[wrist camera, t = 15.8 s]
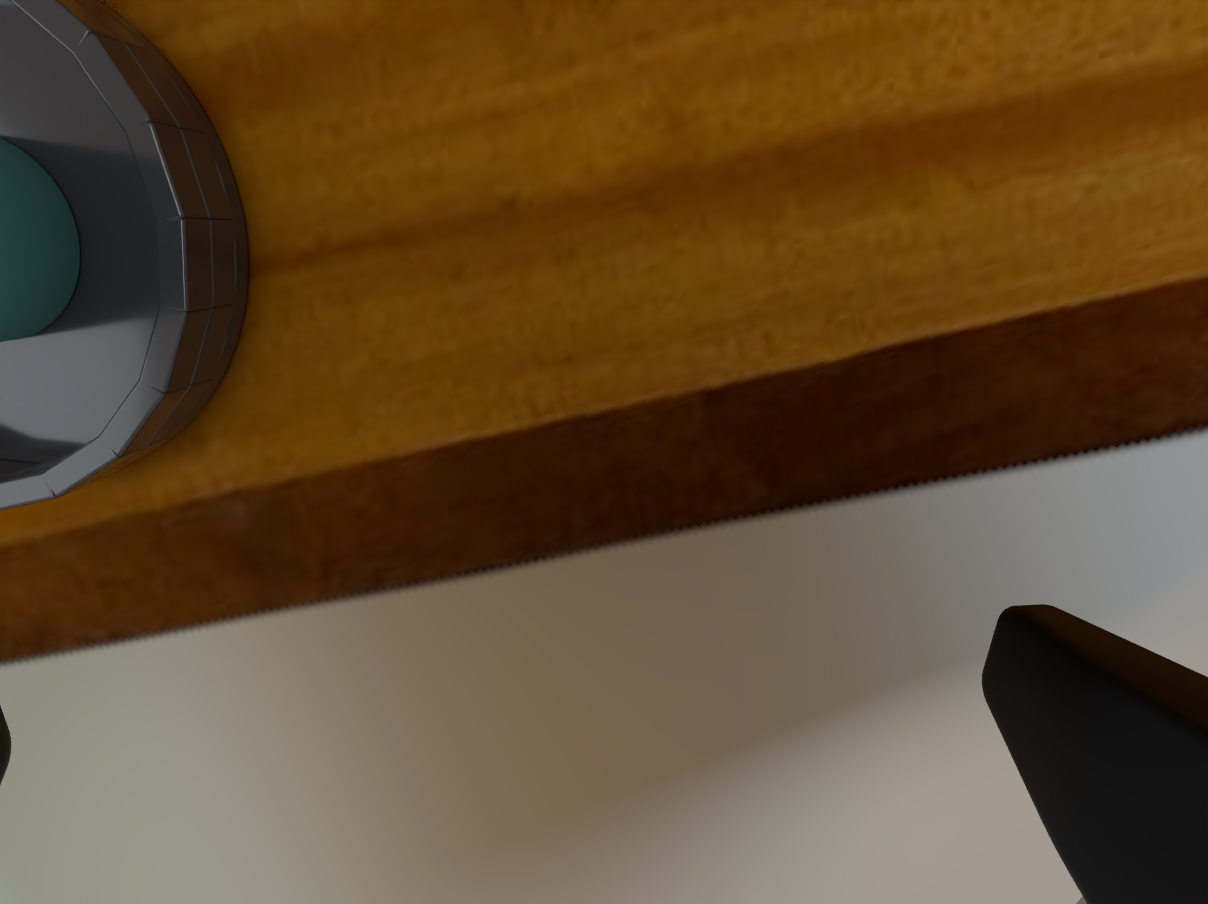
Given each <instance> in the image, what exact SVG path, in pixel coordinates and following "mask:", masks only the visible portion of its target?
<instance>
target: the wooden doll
mask: <svg viewBox="0 0 1208 904" xmlns="http://www.w3.org/2000/svg"><path fill="white" fill-rule="evenodd" d="M79 270H80V243H79V237H78V232H77V227H76V224H75V221H74V217H73V215H72V212H71V210H70V208H69V205H68V203H67V201H66V199H65V197H64V196H63V194H62V192H61V190H60V189H59V187H58V186H57V185H56V183H55V182H54V180H53V179H52V178H51V176H50V175H49V174H48V173H47V172H46V171H45V170H44V169H43V168H42V166H40V165H39V164H38V163H37V162H36V161H35V160H34V159H33V158H31V157H30V156H29V155H28V154H26V153H25V152H23V151H22V150H21V149H19V148H18V147H16V146H14V145H12V144H10V143H9V142H7V141H5V140H2V139H0V342H4V341H10V340H16V339H22V338H25V337H28V336H31V335H33V334H35V333H37V332H39V331H41V330H43V329H44V328H45V327H47V326H48V325H50V324H51V323H52V322H53V321H54V320H55V319H56V318H57V317H58V316H59V315H60V314H61V313H62V311H63V310H64V309H65V307H66V306H67V304H68V302H69V301H70V299H71V297H72V295H73V292H74V289H75V287H76V284H77V280H78V275H79Z"/></svg>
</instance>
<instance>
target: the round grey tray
mask: <svg viewBox="0 0 1208 904" xmlns="http://www.w3.org/2000/svg"><path fill="white" fill-rule="evenodd" d="M0 139H2V140H5V141H7V142H9V143H10V144H12V145H14V146H16V147H18V148H19V149H21V150H22V151H23V152H25V153H26V154H28V155H29V156H30V157H31V158H33V159H34V160H35V161H36V162H37V163H38V164H39V165H40V166H42V168H43V169H44V170H45V171H46V172H47V173H48V174H49V175H50V176H51V178H52V179H53V180H54V182H55V183H56V185H57V186H58V187H59V189H60V190H61V192H62V194H63V196H64V197H65V199H66V201H67V203H68V205H69V208H70V210H71V212H72V215H73V217H74V221H75V224H76V227H77V232H78V237H79V243H80V270H79V275H78V280H77V284H76V287H75V289H74V292H73V295H72V297H71V299H70V301H69V302H68V304H67V306H66V307H65V309H64V310H63V311H62V313H61V314H60V315H59V316H58V317H57V318H56V319H55V320H54V321H53V322H52V323H51V324H50V325H48V326H47V327H45V328H44V329H43V330H41V331H39V332H37V333H35V334H33V335H31V336H28V337H25V338H22V339H16V340H10V341H4V342H0V510H3V509H8V508H13V507H18V506H22V505H27V504H32V503H36V502H41V501H46V500H50V499H55V498H57V497H60V496H63V495H65V494H67V493H70V492H72V491H74V490H76V489H79V488H81V487H83V486H86V485H88V484H91V483H93V482H95V481H98V480H100V479H102V478H105V477H107V476H109V475H111V474H114V473H116V472H117V471H119V470H120V469H122V468H123V467H125V466H127V465H128V464H130V463H132V462H134V461H136V460H138V459H140V458H142V457H145V456H147V455H148V454H150V453H151V452H153V451H155V450H156V449H158V448H159V447H161V446H162V445H164V444H165V443H167V442H168V441H170V440H171V439H172V438H173V437H174V436H175V435H176V434H178V433H179V432H180V431H181V430H182V429H183V428H184V427H185V426H186V425H188V424H189V423H190V422H191V421H192V420H193V418H194V417H195V416H196V415H197V413H198V412H199V411H200V410H201V409H202V407H203V406H204V405H205V404H206V402H207V401H208V400H209V399H210V397H211V395H212V394H213V392H214V390H215V389H216V387H217V385H218V383H219V382H220V380H221V378H222V377H223V375H224V373H225V371H226V368H227V366H228V364H229V361H230V359H231V356H232V354H233V351H234V349H235V346H236V344H237V340H238V336H239V332H240V328H241V324H242V320H243V316H244V311H245V302H246V294H247V286H248V247H247V239H246V232H245V224H244V217H243V211H242V207H241V203H240V199H239V195H238V191H237V188H236V184H235V180H234V177H233V174H232V171H231V169H230V166H229V164H228V161H227V158H226V156H225V153H224V150H223V148H222V145H221V143H220V141H219V139H218V137H217V135H216V133H215V131H214V129H213V127H212V126H211V124H210V122H209V120H208V118H207V116H206V114H205V112H204V110H203V109H202V107H201V106H200V104H199V103H198V101H197V100H196V98H195V97H194V95H193V94H192V92H191V91H190V89H189V88H188V86H187V85H186V83H185V82H184V80H183V79H182V77H181V76H180V75H179V74H178V73H177V72H176V70H175V69H174V68H173V67H172V66H171V65H170V63H169V62H168V61H167V60H166V59H165V57H164V56H163V55H162V54H161V53H160V52H159V50H158V49H157V48H156V47H155V46H154V45H153V44H151V43H150V42H149V41H148V40H147V39H146V38H145V37H144V36H143V35H142V34H141V33H140V32H139V31H138V30H137V29H135V28H134V27H133V26H132V25H131V24H130V23H129V22H128V21H126V20H125V19H123V18H122V17H121V16H119V15H118V14H117V13H115V12H114V11H113V10H111V9H110V8H108V7H107V6H106V5H104V4H103V3H102V2H100V1H99V0H0Z"/></svg>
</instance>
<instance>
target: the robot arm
mask: <svg viewBox="0 0 1208 904" xmlns="http://www.w3.org/2000/svg"><path fill="white" fill-rule="evenodd" d="M982 687H983V692H984V696H985V699H986V702H987V704H988V706H989V708H990V710H991V713H992V715H993V717H994V719H995V721H996V723H997V725H998V728H999V730H1000V732H1001V734H1002V736H1003V738H1004V741H1005V743H1006V745H1007V747H1008V749H1009V751H1010V753H1011V756H1012V758H1013V760H1014V762H1015V764H1016V766H1017V769H1018V771H1019V773H1020V775H1021V777H1022V779H1023V781H1024V783H1025V786H1026V788H1027V790H1028V792H1029V794H1030V796H1031V799H1032V801H1033V803H1034V805H1035V807H1036V809H1037V811H1038V814H1039V816H1040V818H1041V820H1042V822H1043V824H1044V826H1045V828H1046V830H1047V832H1048V834H1049V836H1050V838H1051V840H1052V842H1053V844H1054V846H1055V848H1056V850H1057V851H1058V853H1059V855H1060V857H1061V859H1062V861H1063V862H1064V864H1065V866H1066V868H1067V870H1068V871H1069V873H1070V875H1071V876H1072V878H1073V880H1074V882H1075V883H1076V885H1077V887H1078V889H1079V890H1080V892H1081V893H1082V895H1083V897H1084V899H1085V901H1086V902H1087V904H1208V677H1206V676H1204V675H1202V674H1200V673H1197V672H1195V671H1193V670H1191V669H1189V668H1186V667H1184V666H1182V665H1180V664H1178V663H1176V662H1173V661H1171V660H1169V659H1167V658H1165V657H1163V656H1160V655H1158V654H1156V653H1154V652H1152V651H1150V650H1147V649H1145V648H1143V647H1141V646H1139V645H1136V644H1134V643H1132V642H1130V641H1128V640H1126V639H1123V638H1121V637H1119V636H1117V635H1115V634H1112V633H1110V632H1108V631H1106V630H1104V629H1102V628H1099V627H1097V626H1095V625H1093V624H1091V623H1089V622H1086V621H1084V620H1082V619H1080V618H1078V617H1076V616H1073V615H1071V614H1069V613H1067V612H1065V611H1063V610H1060V609H1058V608H1056V607H1053V606H1050V605H1023V606H1011V607H1009V608H1007V609H1005V610H1004V611H1003V612H1002V613H1001V615H1000V616H999V619H998V621H997V625H996V628H995V631H994V635H993V639H992V642H991V645H990V649H989V652H988V655H987V659H986V662H985V666H984V669H983V674H982ZM10 754H11V737H10V732H9V729H8V726H7V723H6V720H5V718H4V715H3V712H2V709H1V707H0V784H1V781H2V779H3V777H4V774H5V772H6V769H7V766H8V763H9V759H10Z"/></svg>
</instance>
